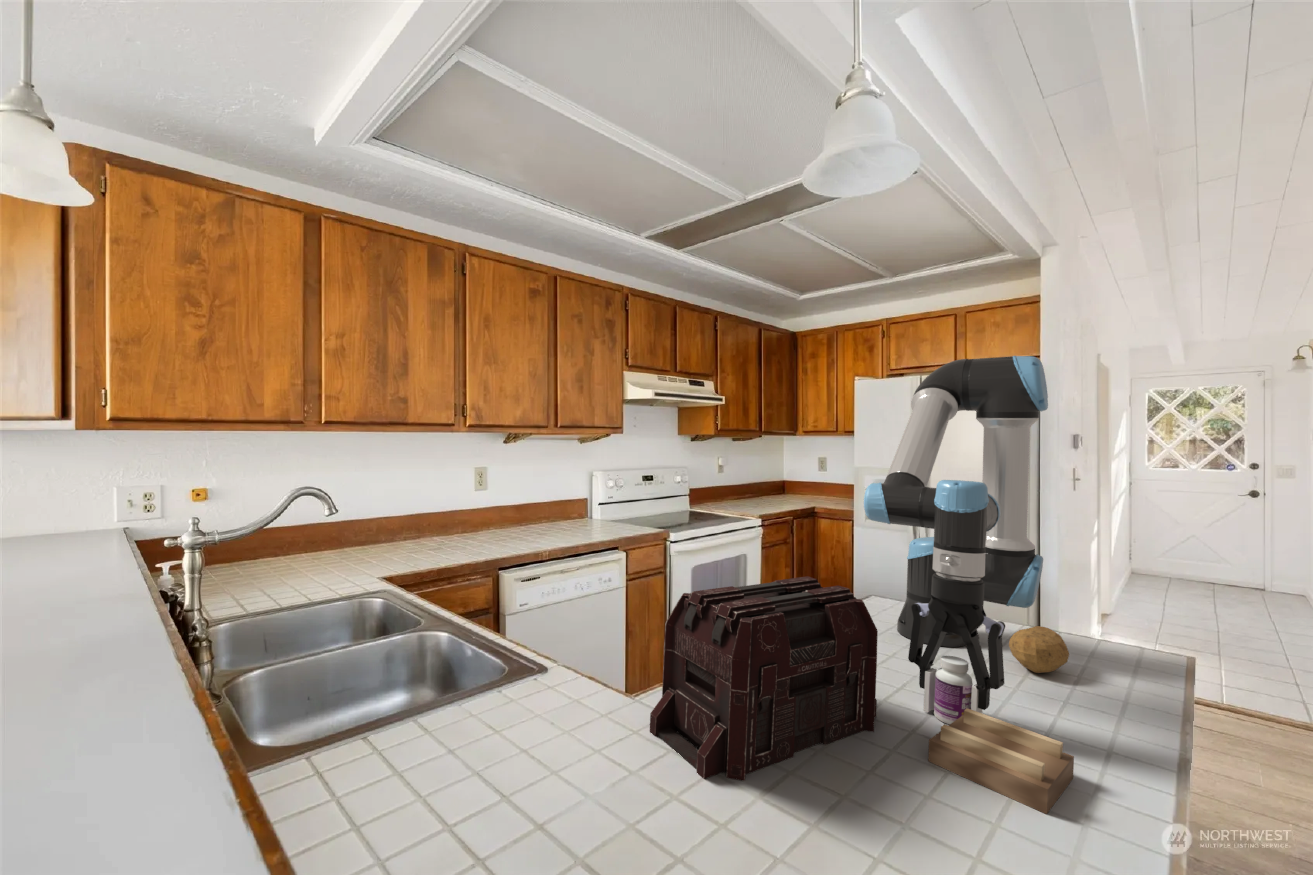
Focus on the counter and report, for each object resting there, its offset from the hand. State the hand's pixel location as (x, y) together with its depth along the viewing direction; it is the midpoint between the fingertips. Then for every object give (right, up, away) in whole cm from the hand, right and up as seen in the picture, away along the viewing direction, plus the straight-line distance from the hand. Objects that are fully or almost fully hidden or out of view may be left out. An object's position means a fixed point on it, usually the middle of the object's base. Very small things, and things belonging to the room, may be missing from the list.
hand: (951, 717), depth 91 cm
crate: (-31, +1, -4) cm, 31 cm away
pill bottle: (0, -1, 0) cm, 1 cm away
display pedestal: (-1, 0, -14) cm, 14 cm away
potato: (+29, -2, +23) cm, 37 cm away
